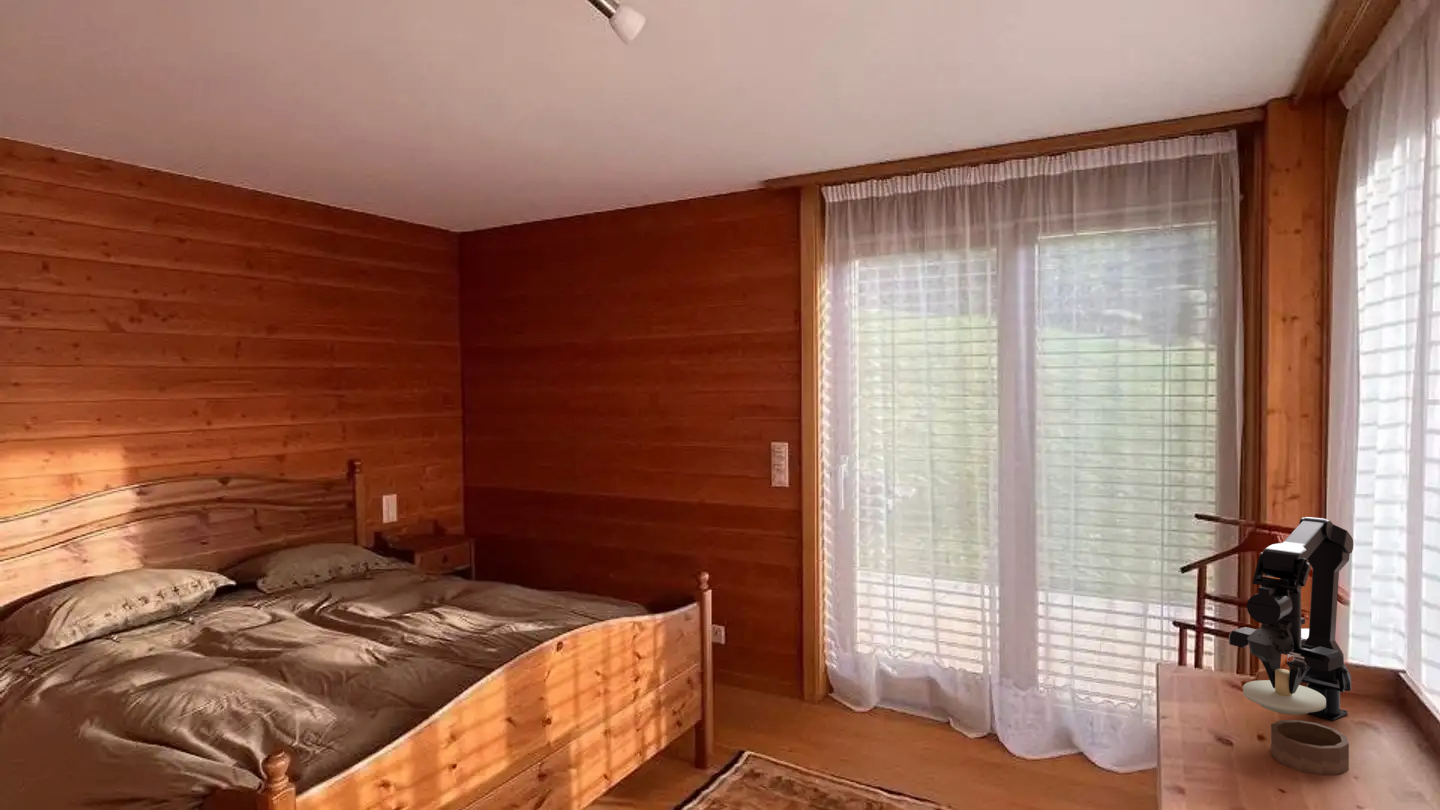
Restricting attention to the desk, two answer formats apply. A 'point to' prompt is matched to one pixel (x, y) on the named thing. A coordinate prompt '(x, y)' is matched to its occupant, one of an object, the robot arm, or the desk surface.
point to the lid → (1284, 695)
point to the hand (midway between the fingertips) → (1283, 690)
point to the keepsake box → (1310, 747)
